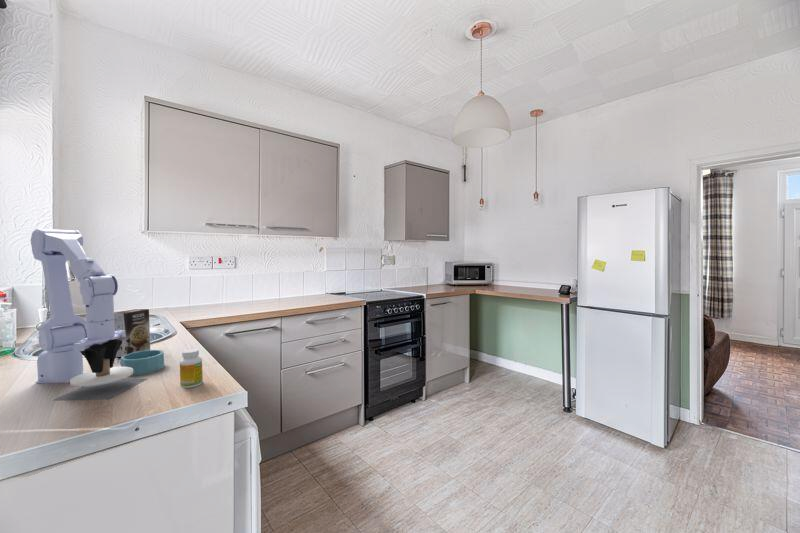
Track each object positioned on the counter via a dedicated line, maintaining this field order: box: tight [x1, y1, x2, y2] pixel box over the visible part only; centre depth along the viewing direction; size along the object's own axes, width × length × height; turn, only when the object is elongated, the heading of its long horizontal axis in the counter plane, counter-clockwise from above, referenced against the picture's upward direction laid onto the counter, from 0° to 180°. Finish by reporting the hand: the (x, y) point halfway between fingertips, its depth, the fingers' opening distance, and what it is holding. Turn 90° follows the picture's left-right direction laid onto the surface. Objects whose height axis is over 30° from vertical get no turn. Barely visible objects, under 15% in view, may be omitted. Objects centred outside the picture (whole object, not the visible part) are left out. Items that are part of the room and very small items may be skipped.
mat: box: [53, 378, 148, 401], centre depth 94 cm, size 14×14×1 cm
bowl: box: [120, 349, 165, 376], centre depth 110 cm, size 11×11×5 cm
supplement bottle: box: [179, 348, 204, 389], centre depth 98 cm, size 5×5×10 cm
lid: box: [69, 358, 133, 388], centre depth 94 cm, size 13×13×5 cm
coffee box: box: [114, 308, 151, 358], centre depth 127 cm, size 9×6×16 cm
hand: (102, 370), depth 94 cm, fingers closed on lid, 3 cm apart
